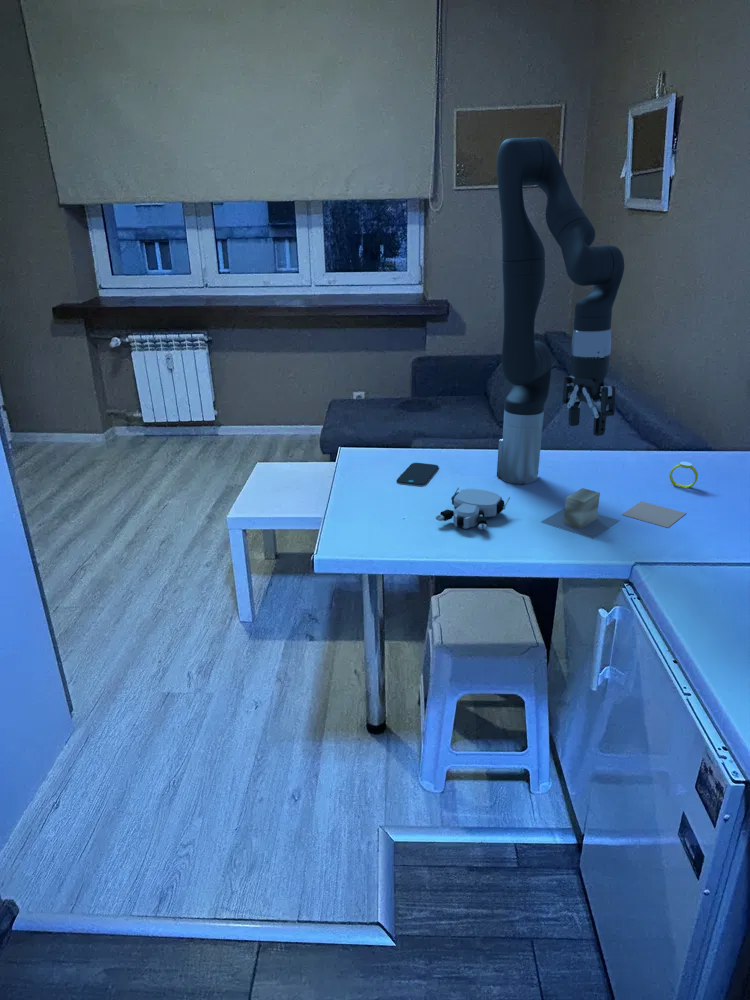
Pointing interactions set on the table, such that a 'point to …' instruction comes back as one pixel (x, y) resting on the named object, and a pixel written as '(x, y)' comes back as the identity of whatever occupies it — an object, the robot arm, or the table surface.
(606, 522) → the board
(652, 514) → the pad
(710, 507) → the table surface
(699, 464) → the table surface
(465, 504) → the robot toy
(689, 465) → the watch
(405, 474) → the smartphone
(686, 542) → the table surface
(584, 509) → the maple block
